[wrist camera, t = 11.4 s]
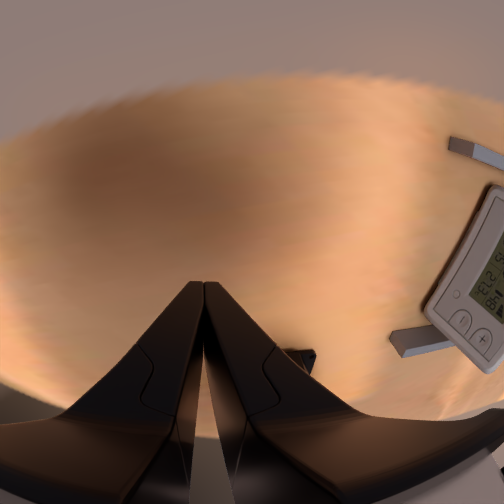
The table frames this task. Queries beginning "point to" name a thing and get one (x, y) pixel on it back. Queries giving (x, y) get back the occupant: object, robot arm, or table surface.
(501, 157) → the gray bracket
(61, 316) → the table surface
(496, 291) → the digital clock
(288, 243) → the table surface
